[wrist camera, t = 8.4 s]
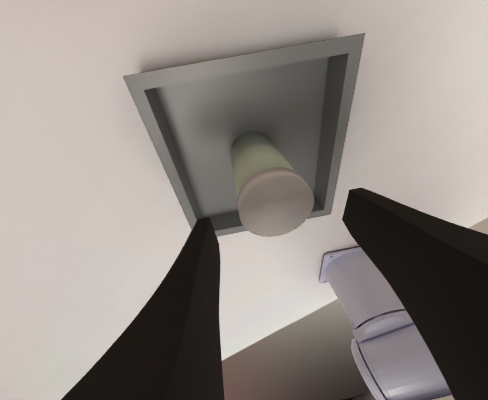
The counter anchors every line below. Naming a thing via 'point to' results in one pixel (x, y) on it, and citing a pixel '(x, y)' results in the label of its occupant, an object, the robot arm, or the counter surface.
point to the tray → (250, 120)
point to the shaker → (268, 187)
